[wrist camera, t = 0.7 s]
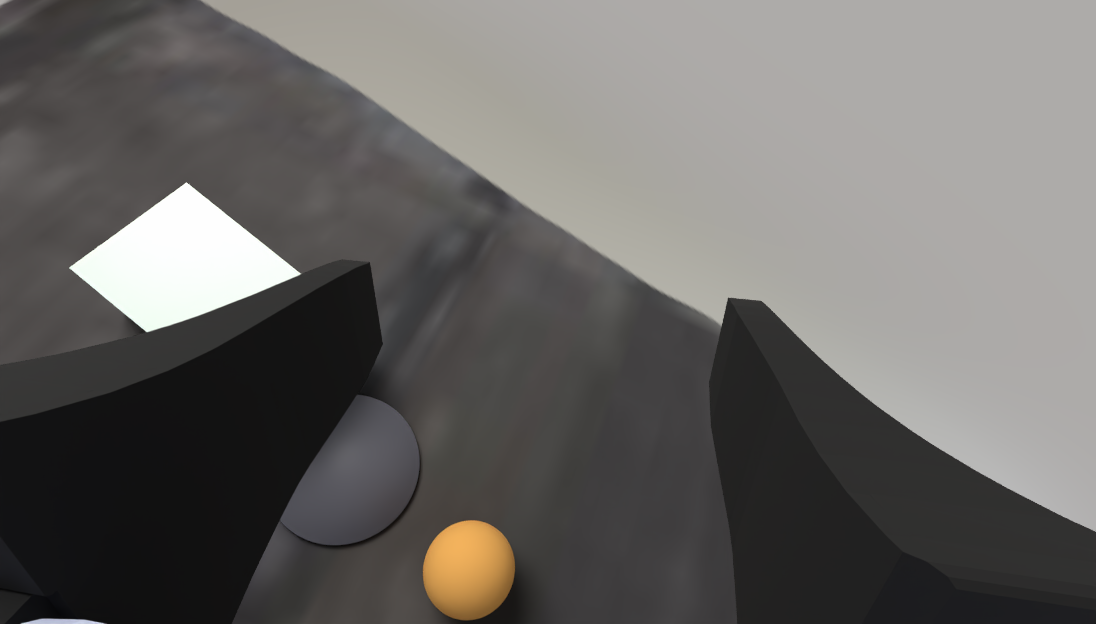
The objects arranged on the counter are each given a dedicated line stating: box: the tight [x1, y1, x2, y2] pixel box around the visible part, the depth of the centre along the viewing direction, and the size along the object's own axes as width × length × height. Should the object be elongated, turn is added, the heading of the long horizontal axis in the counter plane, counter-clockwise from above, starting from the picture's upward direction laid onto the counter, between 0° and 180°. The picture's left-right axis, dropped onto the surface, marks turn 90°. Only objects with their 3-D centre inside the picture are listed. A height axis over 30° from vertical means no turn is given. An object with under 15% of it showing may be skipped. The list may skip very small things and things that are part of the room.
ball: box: [423, 520, 515, 620], centre depth 25 cm, size 4×4×4 cm
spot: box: [280, 395, 420, 545], centre depth 27 cm, size 7×7×1 cm
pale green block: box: [70, 183, 300, 332], centre depth 27 cm, size 6×10×5 cm, turn 53°
